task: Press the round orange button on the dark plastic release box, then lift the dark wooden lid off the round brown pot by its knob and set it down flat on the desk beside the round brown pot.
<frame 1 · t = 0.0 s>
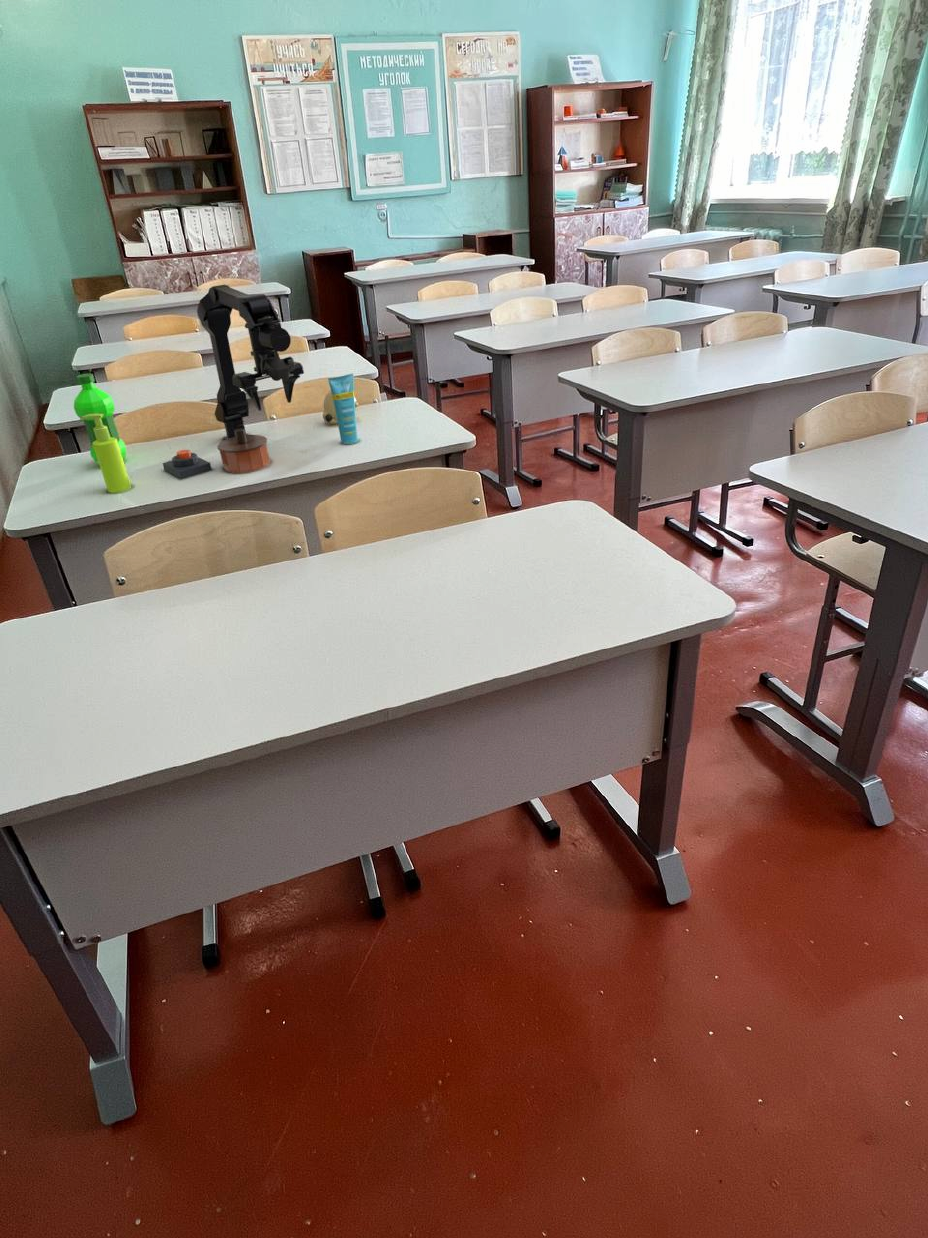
hand: (274, 406, 207), 15 cm above the table, tool pointing down, fingers open, 9 cm apart
button: (183, 454, 208), point 4 cm above the table, slide at 0.1 cm
lid: (242, 444, 208), point 6 cm above the table, touching round brown pot
soap dispenser: (118, 489, 201), on the table
release box: (188, 470, 210), on the table
toy pig: (342, 422, 241), on the table
tube: (350, 442, 223), on the table
round brown pot: (247, 465, 211), on the table
plastic bottle: (112, 463, 220), on the table
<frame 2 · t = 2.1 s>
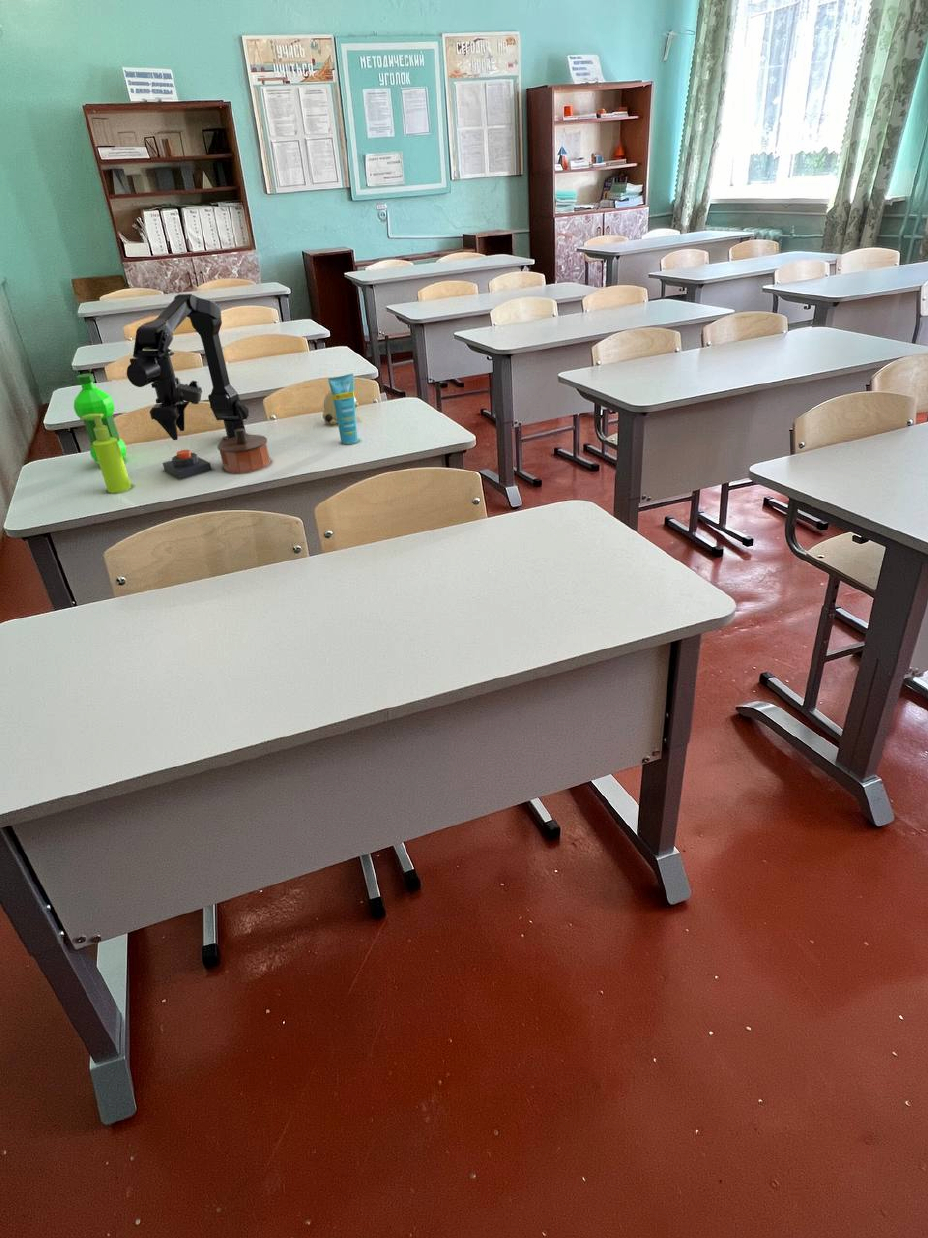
hand: (179, 435, 205), 10 cm above the table, tool pointing down, fingers open, 8 cm apart
nothing on the table moved.
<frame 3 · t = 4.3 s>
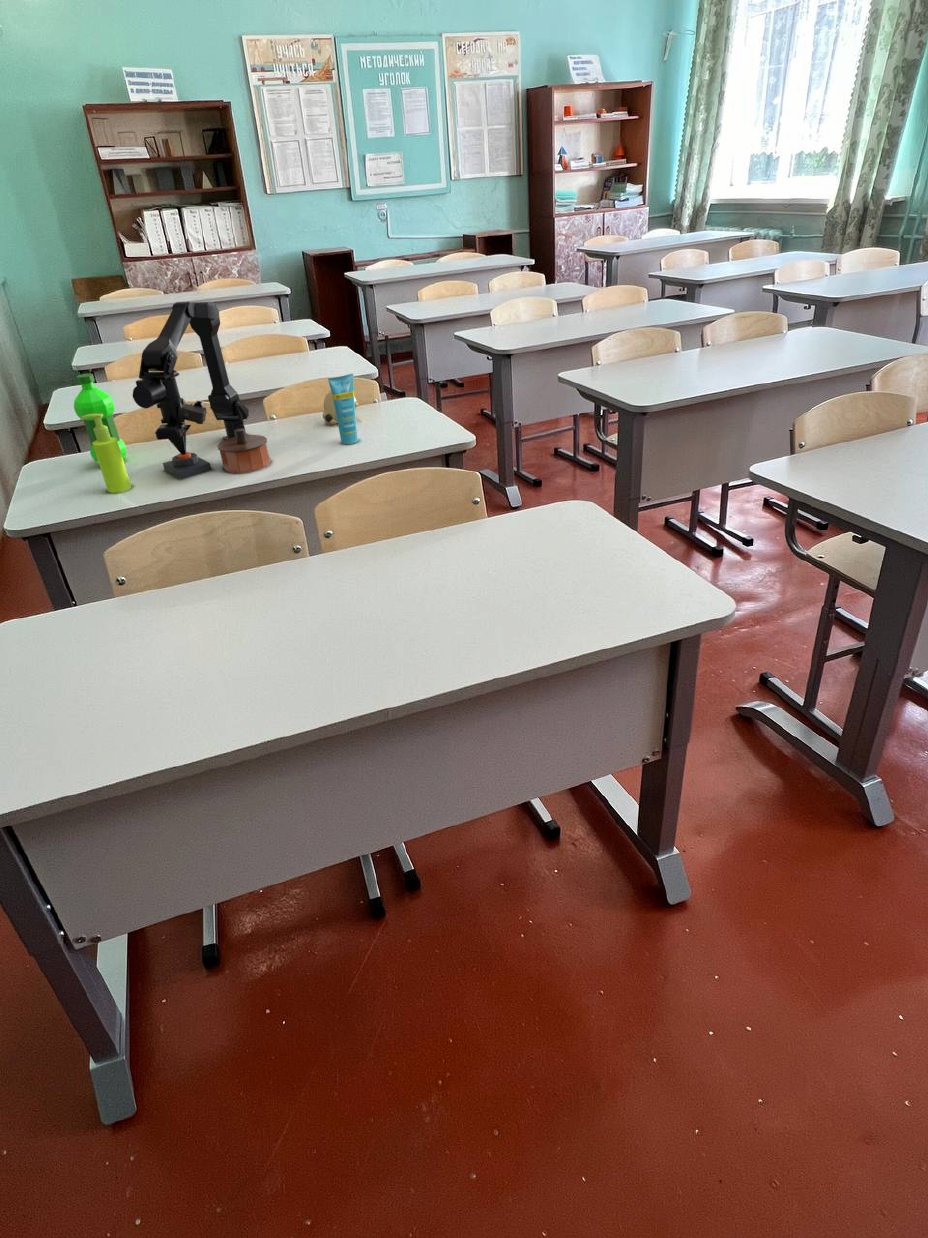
hand: (183, 454, 208), 5 cm above the table, tool pointing down, fingers closed, pressing on button
button: (184, 457, 208), point 4 cm above the table, slide at -0.6 cm, touching gripper
everything else where it was.
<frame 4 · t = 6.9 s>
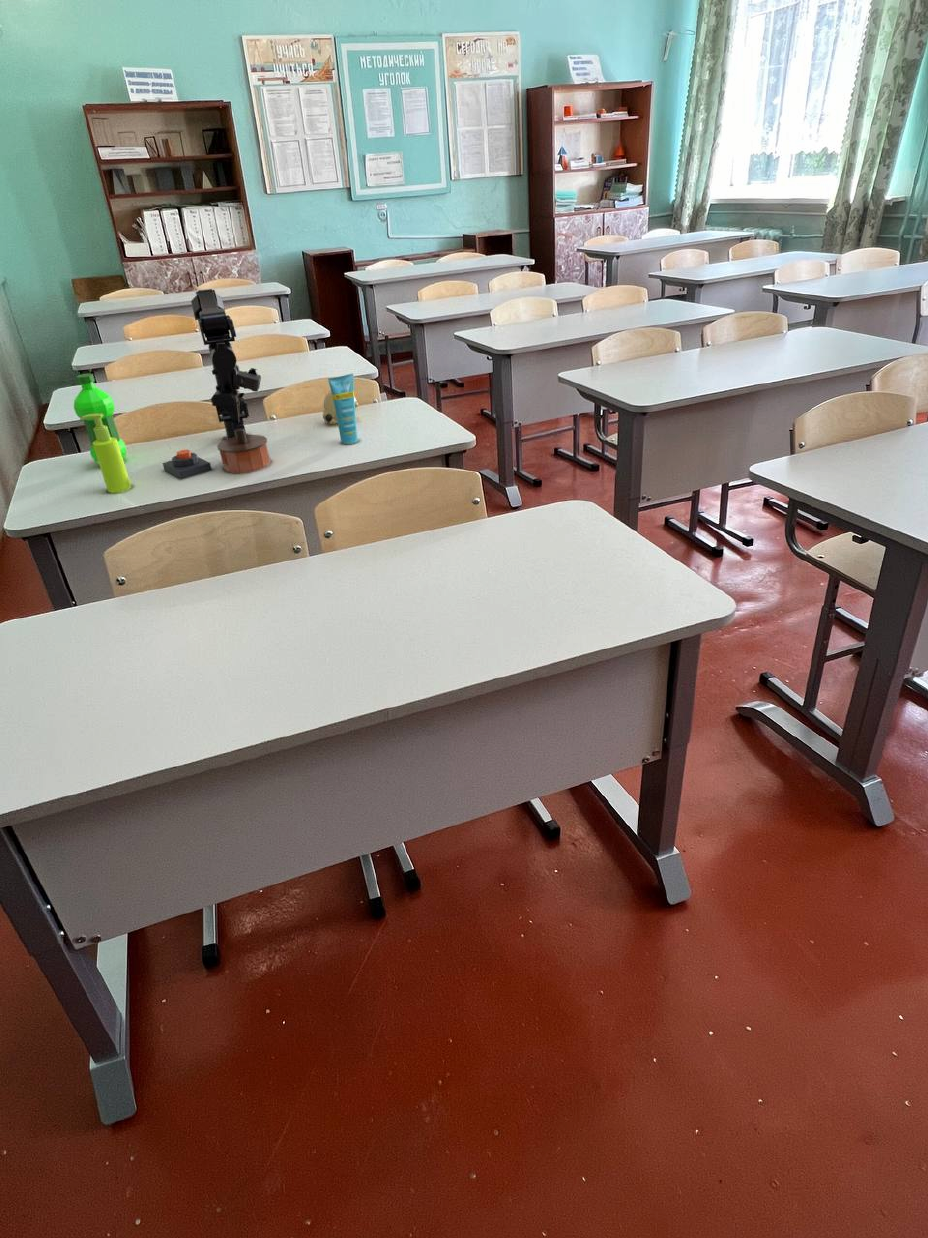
hand: (237, 422, 205), 12 cm above the table, tool pointing down, fingers closed
button: (183, 454, 208), point 4 cm above the table, slide at 0.1 cm
everything else where it was.
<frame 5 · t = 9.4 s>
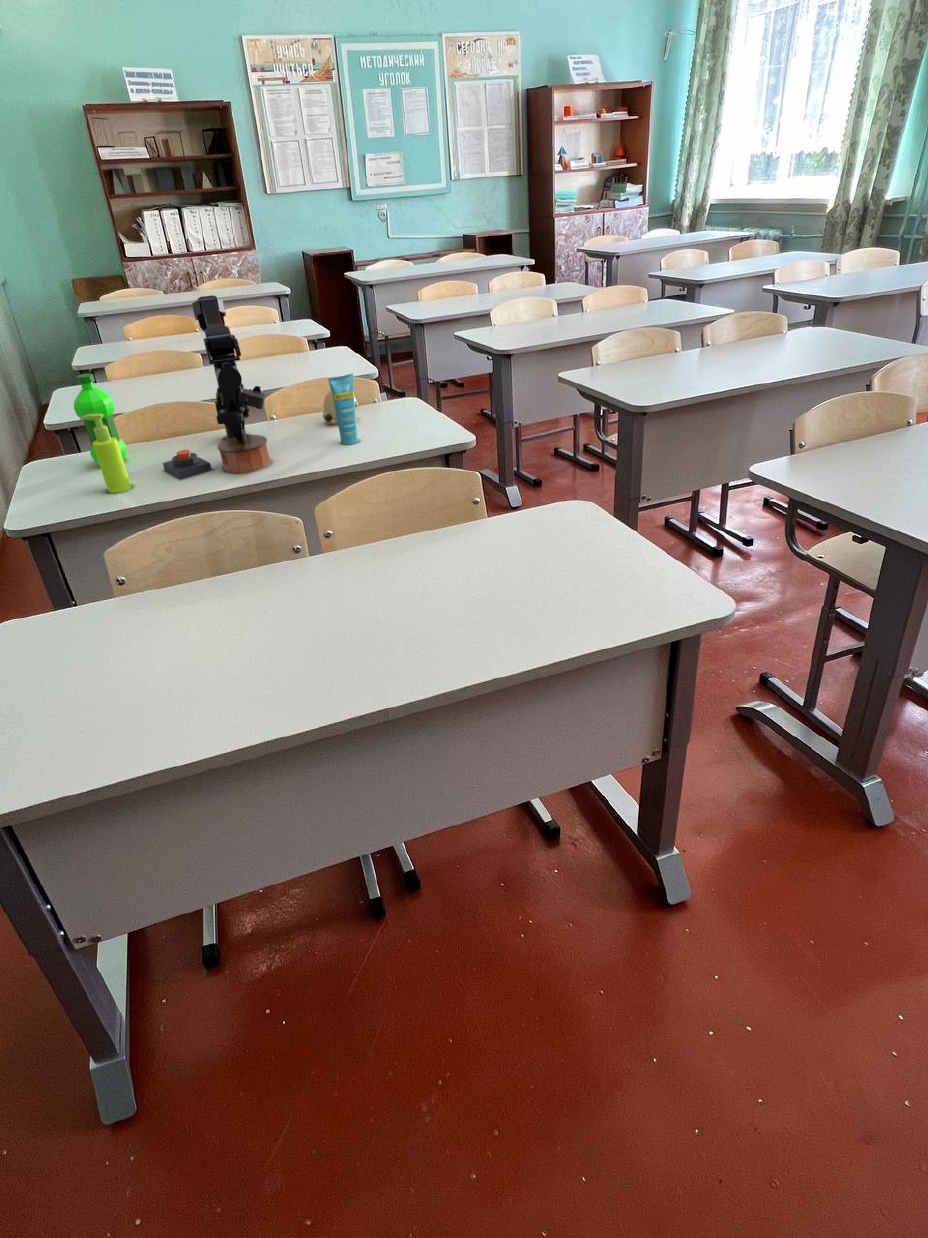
hand: (241, 439, 207), 7 cm above the table, tool pointing down, fingers closed on lid, 3 cm apart
lid: (242, 444, 208), point 6 cm above the table, touching gripper, round brown pot
everything else where it was.
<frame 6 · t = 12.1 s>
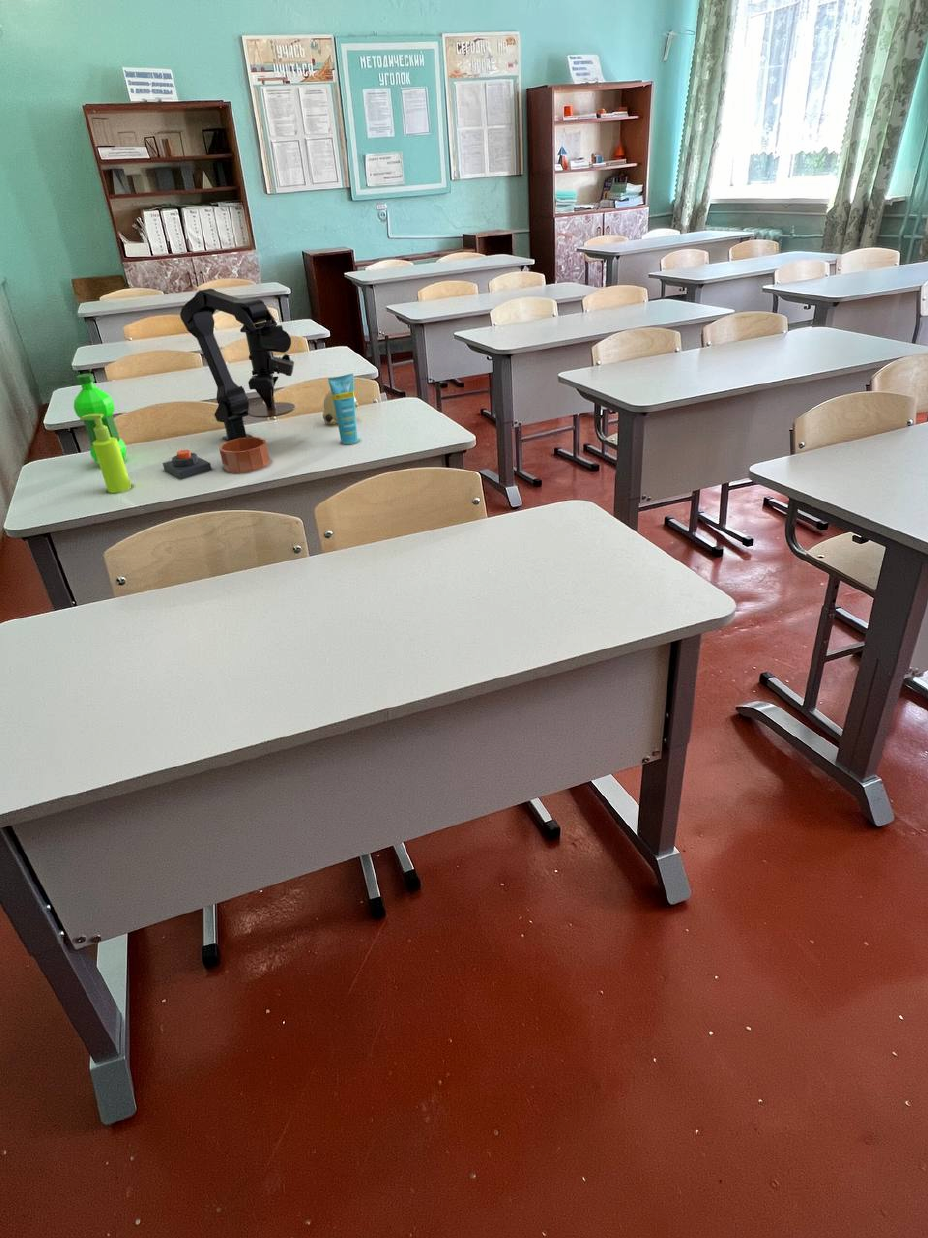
hand: (270, 406, 216), 12 cm above the table, tool pointing down, fingers closed on lid, 3 cm apart
lid: (271, 410, 217), point 11 cm above the table, touching gripper
everything else where it was.
when the fingers open (1 cm above the table, at t = 14.8 s): lid stays where it is, on the table.
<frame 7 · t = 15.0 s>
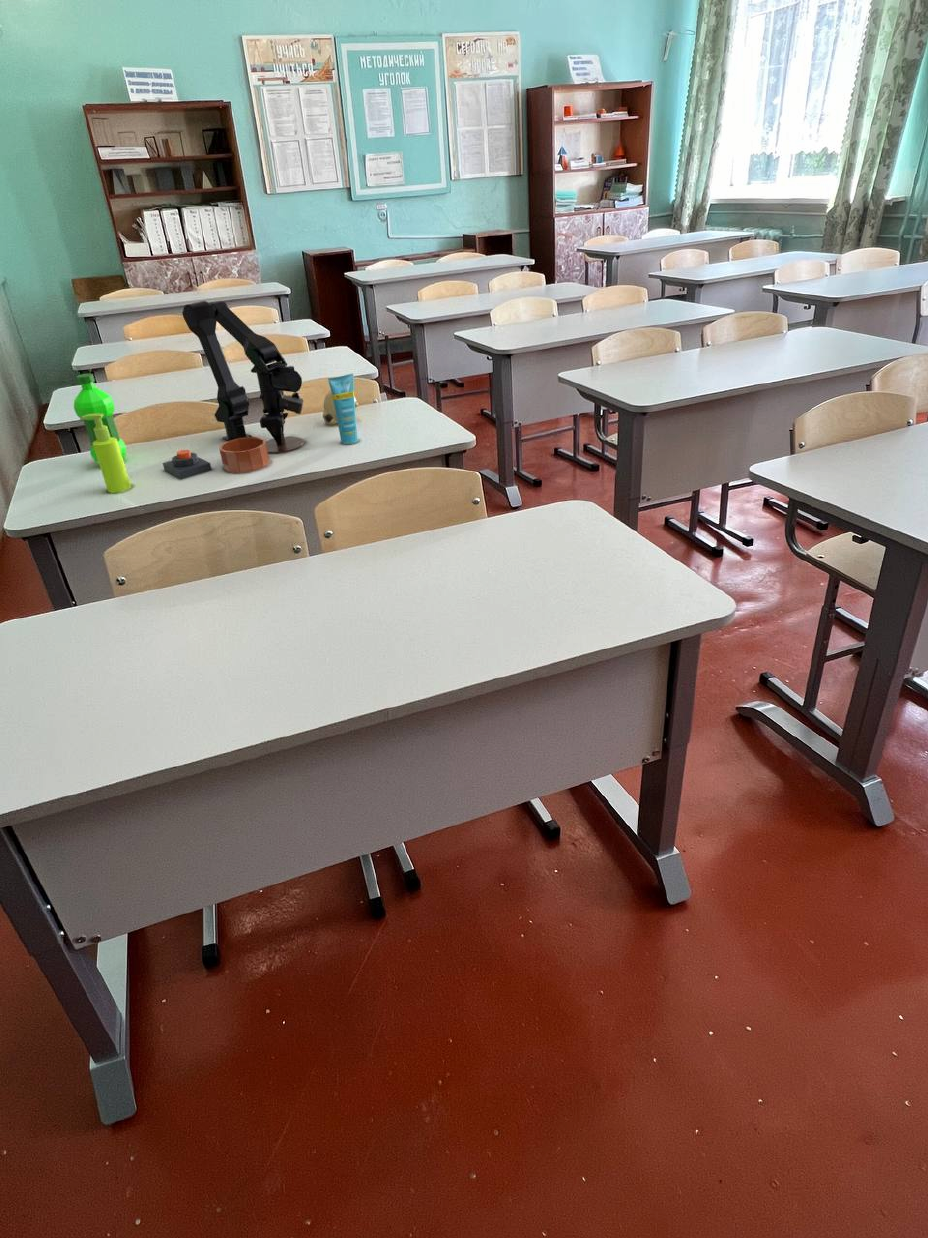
hand: (280, 442, 223), 1 cm above the table, tool pointing down, fingers open, 4 cm apart
lid: (281, 445, 224), on the table
everything else where it was.
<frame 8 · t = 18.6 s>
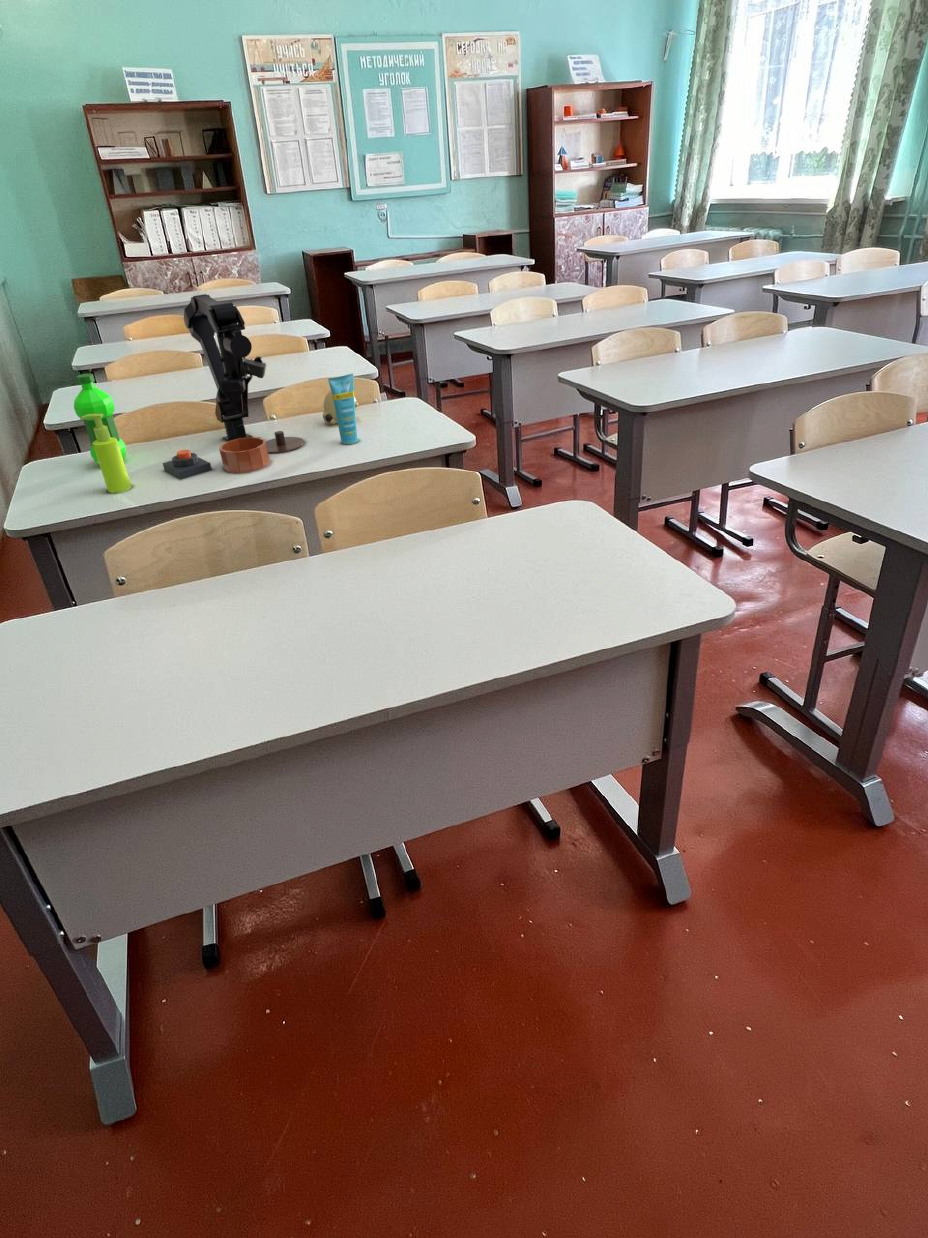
hand: (243, 408, 217), 12 cm above the table, tool pointing down, fingers open, 9 cm apart
nothing on the table moved.
at the end: button pushed in 0.8 cm at the most during the clip, back to where it started at the end; lid inside the target area (0.0 cm from its centre), on the table; lid tilted 0° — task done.
